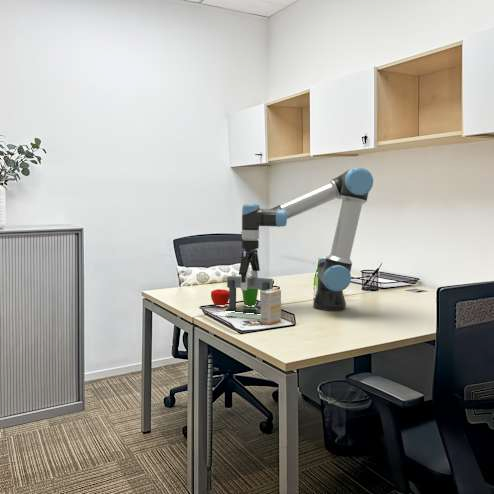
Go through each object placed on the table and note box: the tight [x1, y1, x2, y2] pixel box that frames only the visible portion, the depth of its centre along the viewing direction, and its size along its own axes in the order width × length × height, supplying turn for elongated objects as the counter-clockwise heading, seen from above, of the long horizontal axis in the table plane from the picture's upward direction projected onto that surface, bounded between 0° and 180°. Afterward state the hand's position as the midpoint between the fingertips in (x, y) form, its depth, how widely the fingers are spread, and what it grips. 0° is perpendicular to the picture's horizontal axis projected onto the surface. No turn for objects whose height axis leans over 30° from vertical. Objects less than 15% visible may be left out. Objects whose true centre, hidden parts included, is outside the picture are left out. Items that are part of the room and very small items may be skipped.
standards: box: [224, 281, 268, 314], centre depth 222 cm, size 21×6×14 cm, turn 70°
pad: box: [226, 312, 261, 321], centre depth 215 cm, size 22×7×1 cm, turn 70°
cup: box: [241, 288, 259, 306], centre depth 235 cm, size 9×9×11 cm
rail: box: [226, 275, 274, 290], centre depth 221 cm, size 20×4×4 cm, turn 70°
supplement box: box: [259, 288, 282, 326], centre depth 204 cm, size 8×5×13 cm, turn 141°
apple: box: [210, 288, 229, 306], centre depth 235 cm, size 9×9×8 cm
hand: (249, 287), depth 222 cm, fingers open, 13 cm apart
